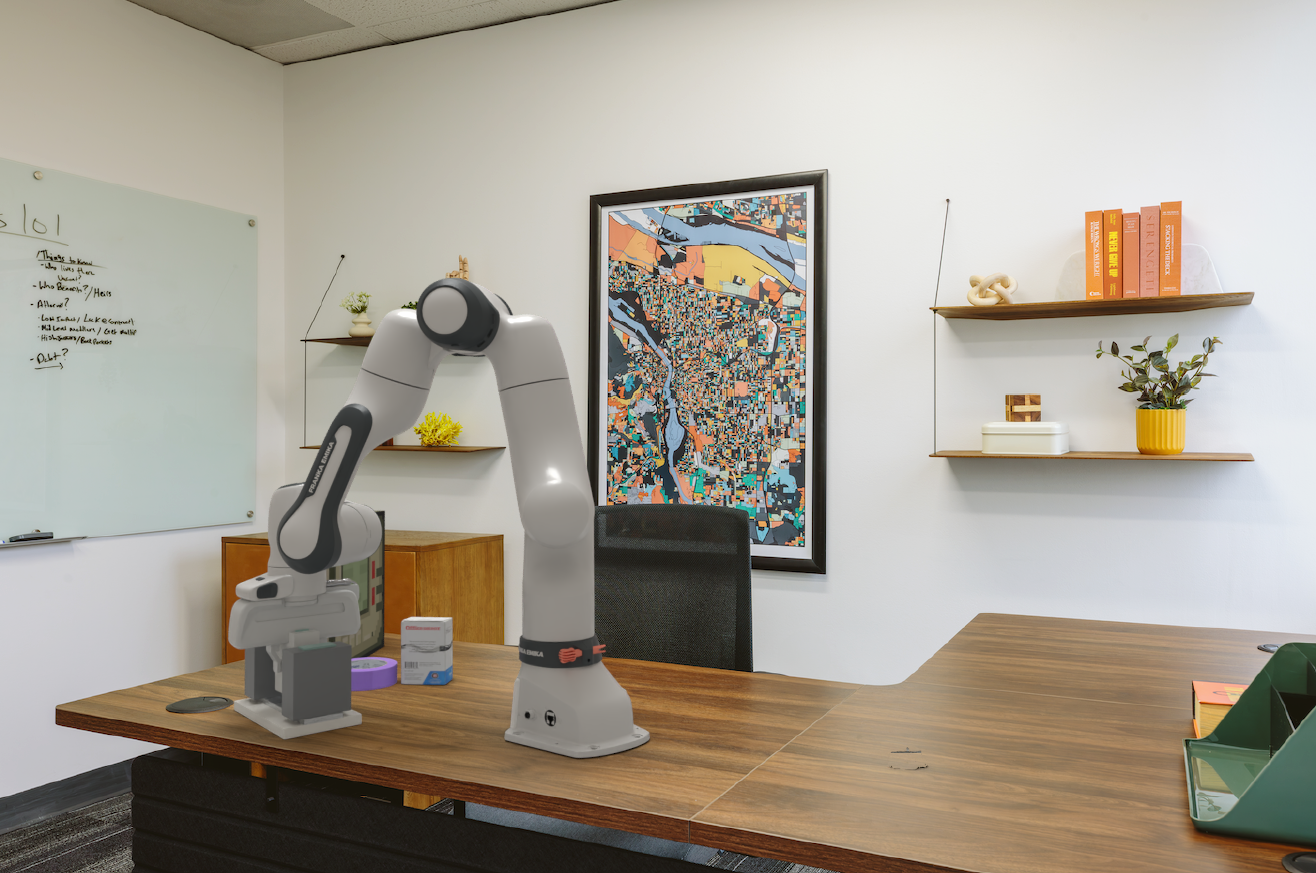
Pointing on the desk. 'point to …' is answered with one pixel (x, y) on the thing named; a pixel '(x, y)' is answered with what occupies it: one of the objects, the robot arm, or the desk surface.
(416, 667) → the ink box
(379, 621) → the control panel
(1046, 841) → the desk surface
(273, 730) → the mounting board
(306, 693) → the mounted modules
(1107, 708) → the desk surface
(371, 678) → the masking tape
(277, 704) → the rail
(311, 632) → the block
